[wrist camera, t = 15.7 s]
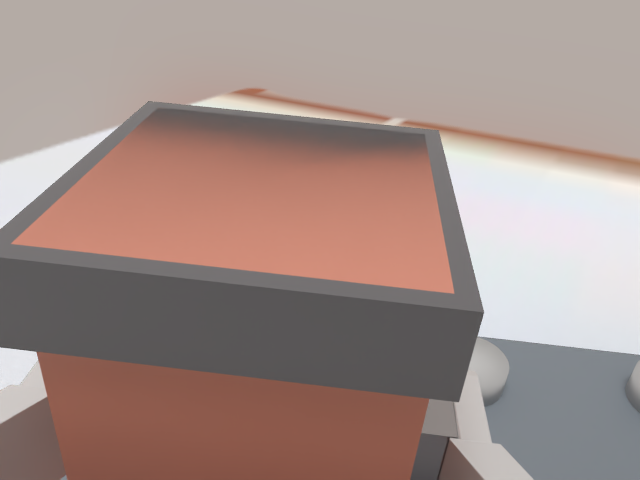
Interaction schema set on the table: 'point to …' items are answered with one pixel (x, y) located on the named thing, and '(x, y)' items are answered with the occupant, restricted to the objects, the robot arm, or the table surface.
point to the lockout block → (244, 297)
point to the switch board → (561, 408)
